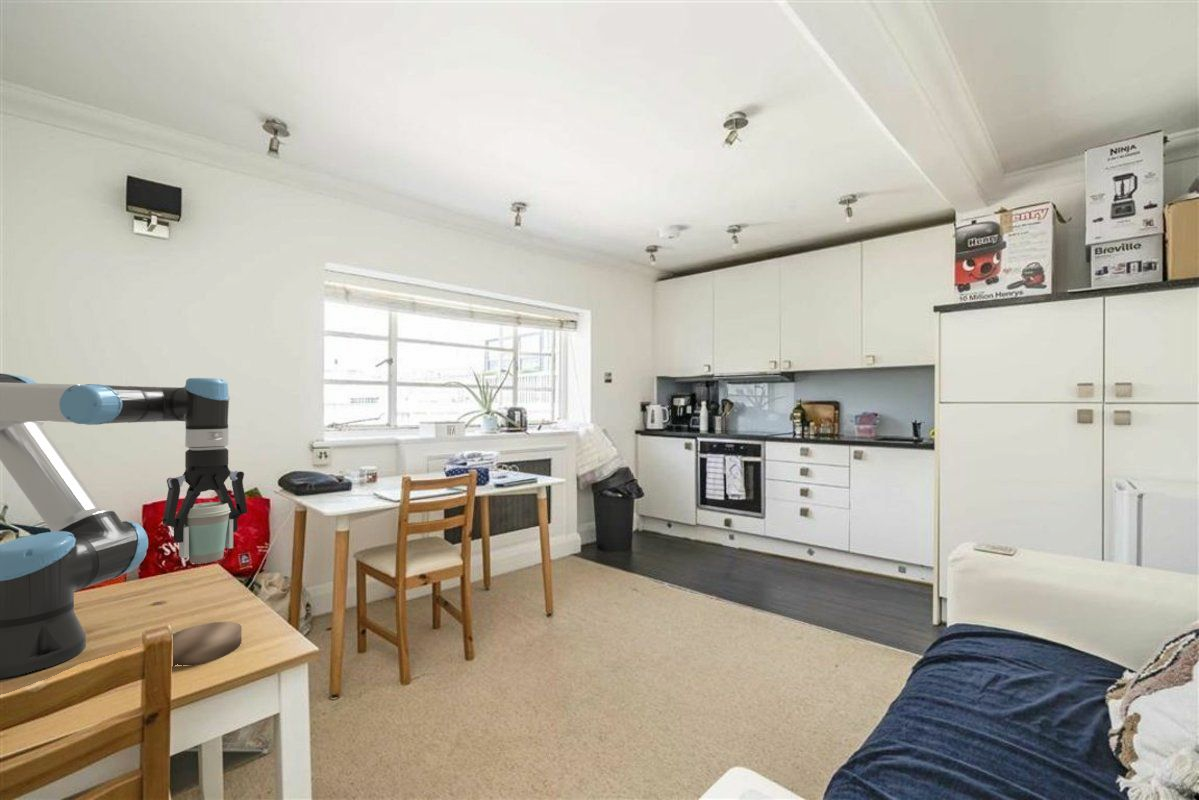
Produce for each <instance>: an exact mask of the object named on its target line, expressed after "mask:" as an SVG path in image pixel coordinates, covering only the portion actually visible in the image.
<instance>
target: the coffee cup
mask: <svg viewBox="0 0 1199 800" xmlns="http://www.w3.org/2000/svg"><path fill="white" fill-rule="evenodd" d="M230 512H231V511H230V508H229V505H228V503H225V504H224V503H222V502H221V501H210V502H201V503H195V504H194V506H193V508H191V509H190V511H189V514H188V517H187V518H188V519H187V521H186V523H185V525H184V526H188V527H189V557H188V558H189V563H190V564H193V565H194V564H199V565H200V564H208V563H212V562H217V561H220V560H222V559H223V558H224V554H225V549H226V548H225V541H226V533H227V526H228V519H229V513H230Z"/></svg>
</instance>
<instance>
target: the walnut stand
mask: <svg viewBox="0 0 1199 800" xmlns="http://www.w3.org/2000/svg"><path fill="white" fill-rule="evenodd" d="M172 634H173V667H172V668H175V667H174V666H175V665H177V664H178V665H182V666H183V665H192V666H196V665H195V664H197V665H201V664H200V663H202V664H205V662H206V663H209V662H211V661H215V660H217V659H220V658H223V657H225V656H227V655H229V654H231V653H232V652H234V651H235V649H236V650H237V649H238V648H239V647H240V646H241V645H242V634H243V633H242V625H241V624H240V623H238V622H234V621H217V622H216V621H214V622H208V623H203V624H198V625H194V626H191V627H187V628H184V629H181V630H179V631H176V632H174V633H172ZM240 644H241V645H240Z"/></svg>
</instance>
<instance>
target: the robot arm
mask: <svg viewBox="0 0 1199 800" xmlns="http://www.w3.org/2000/svg"><path fill="white" fill-rule="evenodd" d="M229 405H230V396H229V384H228V382H227V380H225V379H223V378H215V377H214V378H213V377H212V378H210V377H193V378H192V377H189V378H186V380H185V385H184V387H173V386H171V387H170V386H169V387H168V386H137V385H136V386H131V385H107V384H106V385H104V384H98V383H97V384H94V383H93V384H92V383H89V384H87V383H86V384H75V383H74V384H72V383H71V384H70V383H69V384H68V383H64V384H63V383H37V382H36V381H34V380H33V379H30V378H28V377H26V376H22V375H14V374H13V375H12V374H10V373H0V462H1V463H2V464H3V466H4V468H6V470H7V471H8V474H9V475H10V476H11V477H12V478H13V480H14V481H15V483H16V484H17V485H18V487H19V488H20V490H21V491H22V493H23V495H25V497H26V498H27V500H28V501H29V502H30V504H31V505H32V506H33V508H34V509H35V511H36V512H37V514H38V515H39V517H40V518H41V519H42V520H43V522H44V523H45V525H47V527H48V528H49V530H50V531H47V532H41V533H37V534H33V535H26V536H22V537H18V538H15V539H12V540H8V541H6V542H3V543H1V544H0V679H2V680H3V679H8V678H12V677H17V676H23V675H26V674H25V673H27V674H30V673H29V672H31V673H33V672H32V671H34V672H36V671H35V670H38V669H41V670H43V669H42V668H45V669H47V668H50V667H53V666H56V665H58V664H61V663H63V662H65V661H68V660H70V659H73V658H74V657H75V656H78V655H79V654H81V653H82V652H83V651H84V650H85V649H86V647H87V635H86V633H85V630H84V629H83V627H82V625H81V623H80V621H79V618H78V616H77V615H76V612H75V592H77V591H81V590H82V589H86V588H89V587H91V586H94V585H97V584H100V583H103V582H105V581H108V580H112V579H113V580H114V579H116V578H119V577H121V576H123V575H124V574H127V573H129V572H131V571H133V570H135V569H136V568H137V567H138V566H140V565H141V563H142V562H143V561H144V559H145V557H146V556H147V550H148V548H149V538H148V535H147V531H146V530H145V529H144V527H142V525H140V524H139V523H137V522H134V521H133V522H132V521H129V520H124V521H121V519H120V517H119V516H118V515H117V513H116V512H115V511H114V510H112V509H105V508H101V506H100V505H99V504H98V502H97V501H96V500H95V498H94V496H93V495H92V494H91V492H90V491H89V489H88V488H87V487H86V485H85V484H84V482H83V481H82V480H81V479H80V477H79V476H78V474H77V473H76V472H75V470H74V469H73V467H72V466H71V465H70V463H69V462H68V461H67V459H66V458H65V455H63V454H62V452H61V451H60V449H59V448H58V447H57V445H56V444H55V442H54V441H53V440H52V438H51V437H50V435H49V434H48V432H47V431H46V430H45V428H44V427H43V426H44V425H43V424H44V423H73V424H76V425H77V424H78V425H86V426H88V425H89V426H91V425H92V426H93V425H104V424H107V425H109V424H122V423H123V424H124V423H130V424H131V423H156V422H184V423H185V424H184V425H185V437H184V438H185V440H184V441H185V442H184V443H185V444H184V446H185V448H188V449H187V450H186V451H185V453H184V454H185V458H184V460H185V461H184V462H185V463H184V464H185V465H184V466H185V469H184V472H183V474H182V475H180V476H175V477H169V478H167V479H166V484H167V488H168V490H167V497H166V501H165V506H164V512H163V516H162V522H161V523H162V524H163V526H167V527H173V541H174V542H175V544H176V543H177V544H178V557H180V558H183V559H187V558H189V527H188V526H185V523H186V521H187V519H188V518H187V517H188V514H189V511H190V509H191V508H193V506H194V504H196V501H197V499H198V497H199V496H200V495H201V493H202V492H206V491H207V492H208V491H214V492H215V493H216V495H217V497H218V499H219V502H222V503H224V504H225V503H228V505H229V508H230V511H231V512H230V513H229V519H228V526H227V533H226V541H225V548H224V549H234V533H236V532H238V525H239V524H238V521H239V520H238V519H239V518H241V516H242V515H245V514H247V513H248V507H247V501H246V495H245V488H244V483H243V481H244V478H245V477H244V476H245V473H244V471H239V470H235V471H234V470H233V471H231V470H230V468H229V449H228V448H226V447H227V446H229V409H230V408H229ZM228 478H229V479H230V480H231V487H232V493H233V499H234V501H232V499H231V496H230V494H229V493H228V488H227V486H226V484H225V482H226V481H227V479H228ZM184 482H185V483H186V484H188V488H187V490H186V494H185V496H184V499H183V501H182V503H181V505H180V508H179V509H178V506H179V500H180V495H181V487H183V484H184ZM234 503H235V505H234ZM177 510H178V512H177ZM38 671H39V670H38ZM22 674H23V675H22Z"/></svg>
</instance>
